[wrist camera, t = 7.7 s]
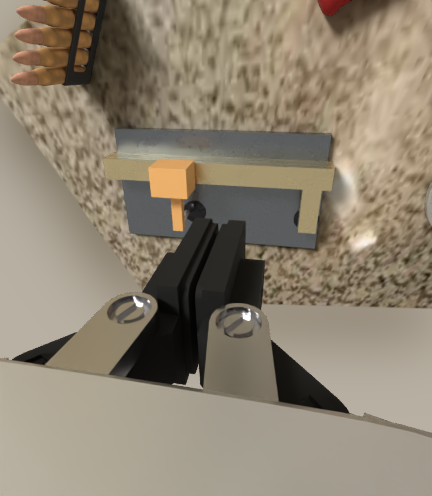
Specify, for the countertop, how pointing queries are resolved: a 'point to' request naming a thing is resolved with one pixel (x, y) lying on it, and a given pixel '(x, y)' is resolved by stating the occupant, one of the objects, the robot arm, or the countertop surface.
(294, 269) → the countertop surface
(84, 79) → the ammunition clip
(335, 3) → the screwdriver
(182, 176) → the sliding head
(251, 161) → the drilled steel plate with beam
